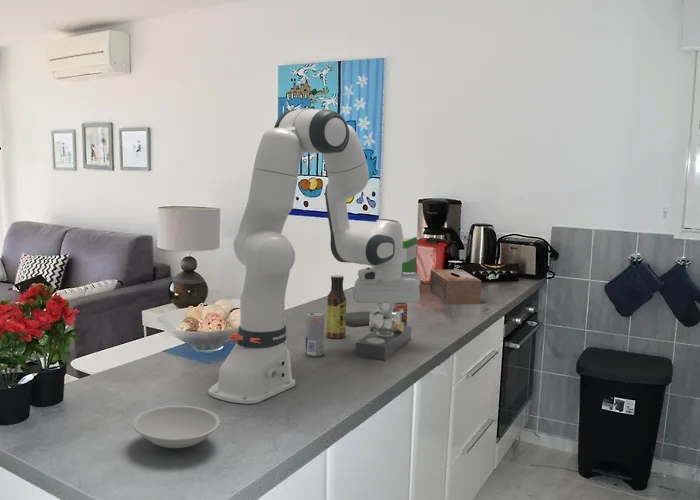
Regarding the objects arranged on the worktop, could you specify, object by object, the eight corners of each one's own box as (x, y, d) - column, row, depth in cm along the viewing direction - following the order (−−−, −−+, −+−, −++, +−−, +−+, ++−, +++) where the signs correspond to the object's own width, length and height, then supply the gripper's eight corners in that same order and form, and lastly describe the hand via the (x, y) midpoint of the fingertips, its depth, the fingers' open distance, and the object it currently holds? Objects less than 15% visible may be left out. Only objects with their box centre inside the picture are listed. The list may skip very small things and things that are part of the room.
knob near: (379, 332, 167) (380, 315, 166) (366, 330, 168) (367, 313, 168) (384, 329, 170) (385, 312, 170) (372, 327, 172) (372, 310, 171)
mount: (384, 360, 165) (385, 346, 164) (355, 355, 169) (356, 341, 168) (410, 338, 187) (411, 326, 186) (384, 334, 190) (385, 322, 190)
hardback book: (399, 287, 266) (401, 236, 263) (415, 289, 264) (417, 237, 260) (388, 295, 250) (390, 240, 246) (404, 297, 247) (406, 241, 244)
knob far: (397, 329, 182) (398, 313, 181) (385, 327, 183) (386, 311, 183) (401, 326, 185) (402, 310, 185) (390, 324, 187) (390, 309, 186)
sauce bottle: (343, 339, 184) (344, 278, 181) (324, 338, 185) (325, 277, 182) (347, 334, 190) (348, 274, 187) (329, 332, 191) (330, 273, 189)
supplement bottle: (405, 331, 194) (406, 299, 193) (388, 330, 196) (389, 297, 194) (407, 327, 200) (408, 295, 199) (390, 325, 201) (391, 294, 200)
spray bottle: (336, 321, 207) (393, 315, 219) (350, 329, 198) (410, 322, 210) (336, 313, 207) (394, 307, 219) (351, 320, 198) (410, 314, 209)
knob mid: (388, 336, 175) (389, 319, 174) (376, 334, 176) (377, 317, 175) (393, 332, 178) (393, 316, 177) (381, 331, 180) (381, 314, 179)
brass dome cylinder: (401, 334, 178) (401, 324, 177) (392, 332, 179) (392, 323, 178) (404, 331, 180) (405, 322, 180) (395, 330, 182) (395, 321, 181)
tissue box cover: (480, 304, 238) (481, 280, 236) (446, 304, 236) (447, 280, 235) (460, 291, 263) (461, 269, 262) (429, 291, 261) (430, 269, 260)
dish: (114, 450, 110) (113, 426, 109) (168, 421, 123) (167, 399, 122) (187, 473, 103) (187, 447, 102) (236, 440, 115) (236, 416, 115)
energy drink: (315, 349, 173) (315, 310, 172) (327, 354, 170) (328, 314, 168) (301, 353, 170) (302, 313, 168) (313, 357, 166) (314, 317, 164)
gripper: (418, 270, 179) (416, 313, 181) (352, 270, 176) (352, 314, 178) (423, 274, 173) (421, 318, 175) (355, 274, 170) (354, 320, 172)
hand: (386, 316), depth 176 cm, fingers closed, pressing on knob mid
